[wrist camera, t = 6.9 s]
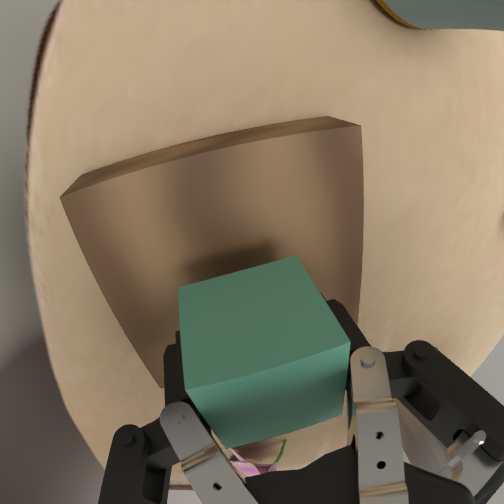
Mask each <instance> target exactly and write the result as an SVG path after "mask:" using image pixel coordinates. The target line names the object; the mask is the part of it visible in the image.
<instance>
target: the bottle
mask: <svg viewBox="0 0 504 504" xmlns="http://www.w3.org/2000/svg"><path fill="white" fill-rule="evenodd" d="M376 1H377V2H378V3H379V4H380V5H381V7H382V8H383V9H384V10H385V11H386V12H387V13H388V14H389V15H390V16H392V17H393V18H395V19H396V20H397V21H399V22H400V23H402V24H404V25H406V26H409V27H411V28H414V29H424V30H425V29H430V30H432V29H484V30H499V31H504V0H376Z"/></svg>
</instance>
